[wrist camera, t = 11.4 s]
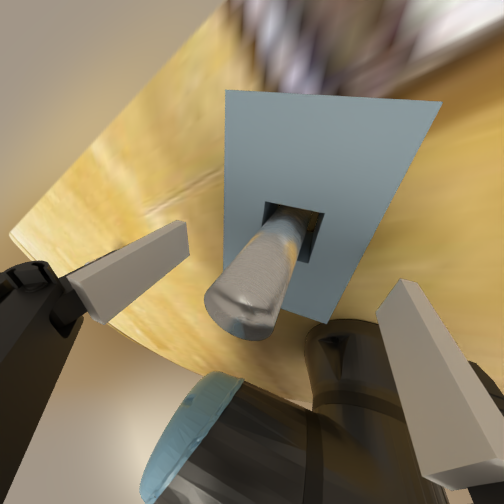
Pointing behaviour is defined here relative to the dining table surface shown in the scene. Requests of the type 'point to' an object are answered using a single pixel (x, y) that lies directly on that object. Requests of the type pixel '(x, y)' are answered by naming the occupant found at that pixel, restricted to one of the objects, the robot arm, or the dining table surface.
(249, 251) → the tall pin
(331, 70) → the dining table surface
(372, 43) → the dining table surface
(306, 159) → the hole block
